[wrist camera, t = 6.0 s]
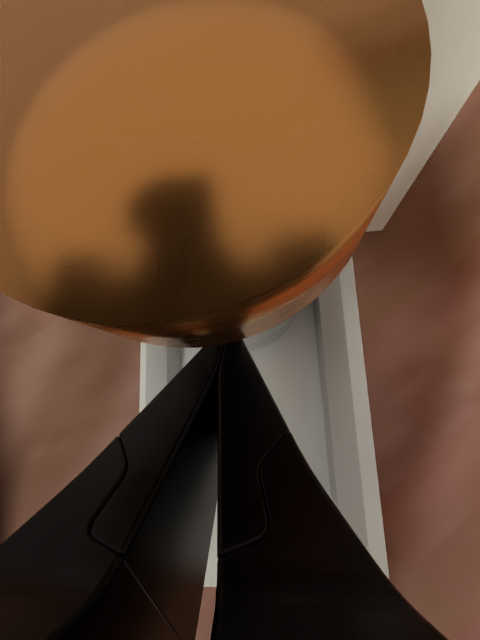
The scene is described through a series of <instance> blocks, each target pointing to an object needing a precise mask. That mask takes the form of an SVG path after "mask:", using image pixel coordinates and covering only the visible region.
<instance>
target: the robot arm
mask: <svg viewBox="0 0 480 640" xmlns="http://www.w3.org/2000/svg"><path fill="white" fill-rule="evenodd" d="M216 505H217V558H218V561H217V587H216V603H215V612H214V619H213V626H212V632H211V639H210V640H448V639H447V638H446V637H445V636H444V635H443V634H442V633H441V632H439V631H438V630H437V629H436V628H435V627H434V626H433V625H432V624H431V623H430V622H428V621H427V620H426V619H425V618H424V617H423V616H422V615H421V614H420V613H419V612H418V611H417V610H416V609H415V608H414V607H413V606H412V605H411V604H410V603H409V602H408V601H407V600H406V599H405V598H404V597H403V596H402V594H401V593H400V592H399V591H398V590H397V589H396V587H395V586H394V585H393V584H392V582H391V581H390V580H389V579H388V577H387V576H386V575H385V574H384V572H383V571H382V570H381V568H380V567H379V566H378V564H377V563H376V562H375V560H374V559H373V557H372V556H371V555H370V553H369V552H368V550H367V549H366V548H365V546H364V545H363V543H362V542H361V540H360V539H359V538H358V536H357V535H356V533H355V532H354V531H353V529H352V528H351V526H350V525H349V523H348V522H347V521H346V519H345V518H344V516H343V515H342V514H341V512H340V511H339V509H338V508H337V506H336V505H335V504H334V502H333V501H332V499H331V498H330V497H329V495H328V494H327V492H326V491H325V489H324V488H323V486H322V485H321V483H320V482H319V480H318V479H317V477H316V476H315V474H314V473H313V471H312V469H311V468H310V466H309V464H308V463H307V461H306V459H305V457H304V456H303V454H302V452H301V450H300V449H299V447H298V445H297V443H296V441H295V439H294V437H293V435H292V433H291V432H290V430H289V428H288V426H287V424H286V422H285V420H284V418H283V416H282V414H281V412H280V411H279V409H278V407H277V405H276V403H275V401H274V399H273V397H272V395H271V393H270V391H269V389H268V387H267V385H266V383H265V381H264V380H263V378H262V376H261V374H260V372H259V370H258V368H257V366H256V364H255V362H254V360H253V358H252V356H251V354H250V352H249V351H248V349H247V347H246V345H245V343H244V341H243V340H238V341H234V342H230V343H227V344H223V345H216V346H208V347H202V348H201V349H200V351H199V352H198V353H197V354H196V355H195V356H194V357H193V358H192V359H191V360H190V361H189V362H188V363H187V364H186V365H185V366H184V367H183V368H182V369H181V370H180V371H179V372H178V373H177V374H176V376H175V377H174V378H173V379H172V380H171V381H170V382H169V383H168V384H167V385H166V386H165V387H164V388H163V389H162V390H161V391H160V392H159V393H158V394H157V395H156V396H155V397H154V398H153V400H152V401H151V402H150V403H149V404H148V405H147V406H146V407H145V408H144V409H143V410H142V411H141V412H140V413H139V414H138V415H137V416H136V417H135V418H134V419H133V420H132V421H131V422H130V424H129V425H128V426H127V427H126V428H125V429H124V430H123V431H122V432H121V433H120V437H116V438H115V439H114V440H113V441H112V442H111V443H110V444H109V445H108V446H107V447H106V448H105V449H104V450H103V451H102V452H101V453H100V454H99V455H98V456H97V457H96V458H95V459H94V460H93V461H92V462H91V463H90V464H89V465H88V466H87V467H86V468H85V469H84V470H83V471H82V472H81V473H80V474H79V475H78V476H77V477H76V478H75V479H74V480H72V481H71V482H70V483H69V484H68V485H67V486H66V487H65V488H64V489H63V490H62V491H61V492H59V493H58V494H57V495H56V496H55V497H54V498H53V499H52V500H51V501H49V502H48V503H47V504H46V505H45V506H44V507H43V508H41V509H40V510H39V511H38V512H37V513H36V514H35V515H34V516H32V517H31V518H30V519H29V520H28V521H27V522H26V523H25V524H23V525H22V526H21V527H20V528H19V529H18V530H17V531H16V532H14V533H13V534H12V535H11V536H10V537H9V538H8V539H7V540H5V541H4V542H3V543H2V544H1V545H0V640H195V636H196V630H197V624H198V618H199V611H200V605H201V599H202V593H203V586H204V580H205V574H206V568H207V561H208V555H209V549H210V543H211V537H212V530H213V524H214V518H215V512H216Z"/></svg>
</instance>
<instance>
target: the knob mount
mask: <svg viewBox="0 0 480 640" xmlns="http://www.w3.org/2000/svg"><path fill="white" fill-rule="evenodd" d="M422 2H423V6H424V9H425V13H426V16H427V20H428V26H429V35H430V45H431V67H430V83H429V90H428V94H427V98H426V103H425V107H424V111H423V116H422V120H421V122H420V125H419V127H418V130H417V132H416V135H415V137H414V140H413V142H412V145H411V147H410V150H409V152H408V155H407V156H406V158H405V160H404V162H403V164H402V166H401V167H400V169H399V171H398V173H397V175H396V177H395V178H394V180H393V182H392V184H391V186H390V188H389V189H388V191H387V193H386V195H385V197H384V199H383V200H382V202H381V204H380V206H379V208H378V210H377V211H376V213H375V215H374V217H373V219H372V221H371V222H370V224H369V226H368V228H367V230H366V232H370V231H381V230H383V228H384V227H385V225H386V224H387V222H388V221H389V219H390V218H391V216H392V215H393V213H394V211H395V210H396V208H397V207H398V205H399V204H400V202H401V201H402V199H403V198H404V196H405V194H406V193H407V191H408V190H409V188H410V187H411V185H412V184H413V182H414V181H415V179H416V177H417V176H418V174H419V173H420V171H421V170H422V168H423V167H424V165H425V164H426V162H427V160H428V159H429V157H430V156H431V154H432V153H433V151H434V150H435V148H436V147H437V145H438V144H439V142H440V140H441V139H442V137H443V136H444V134H445V133H446V131H447V130H448V128H449V127H450V125H451V123H452V122H453V120H454V119H455V117H456V116H457V114H458V113H459V111H460V110H461V108H462V106H463V105H464V103H465V102H466V100H467V99H468V97H469V96H470V94H471V93H472V91H473V89H474V88H475V86H476V85H477V83H478V82H479V80H480V0H422ZM201 348H202V347H199V348H171V347H165V346H158V345H151V344H146V343H143V342H141V355H140V406H139V413H140V412H141V411H142V410H143V409H144V408H145V407H146V406H147V405H148V404H149V403H150V402H151V401H152V400H153V398H154V397H155V396H156V395H157V394H158V393H159V392H160V391H161V390H162V389H163V388H164V387H165V386H166V385H167V384H168V383H169V382H170V381H171V380H172V379H173V378H174V377H175V376H176V374H177V373H178V372H179V371H180V370H181V369H182V368H183V367H184V366H185V365H186V364H187V363H188V362H189V361H190V360H191V359H192V358H193V357H194V356H195V355H196V354H197V353H198V352H199V351H200V349H201ZM249 352H250V354H251V356H252V358H253V360H254V362H255V364H256V366H257V368H258V370H259V372H260V374H261V376H262V378H263V380H264V381H265V383H266V385H267V387H268V389H269V391H270V393H271V395H272V397H273V399H274V401H275V403H276V405H277V407H278V409H279V411H280V412H281V414H282V416H283V418H284V420H285V422H286V424H287V426H288V428H289V430H290V432H291V433H292V435H293V437H294V439H295V441H296V443H297V445H298V447H299V449H300V450H301V452H302V454H303V456H304V457H305V459H306V461H307V463H308V464H309V466H310V468H311V469H312V471H313V473H314V474H315V476H316V477H317V479H318V480H319V482H320V483H321V485H322V486H323V488H324V489H325V491H326V492H327V494H328V495H329V497H330V498H331V499H332V501H333V502H334V504H335V505H336V506H337V508H338V509H339V511H340V512H341V514H342V515H343V516H344V518H345V519H346V521H347V522H348V523H349V525H350V526H351V528H352V529H353V531H354V532H355V533H356V535H357V536H358V538H359V539H360V540H361V542H362V543H363V545H364V546H365V548H366V549H367V550H368V552H369V553H370V555H371V556H372V557H373V559H374V560H375V562H376V563H377V564H378V566H379V567H380V568H381V570H382V571H383V572H384V574H385V575H386V576H387V577H388V579H389V571H388V563H387V554H386V545H385V537H384V528H383V519H382V511H381V502H380V493H379V485H378V476H377V467H376V459H375V450H374V441H373V433H372V424H371V415H370V407H369V398H368V389H367V381H366V372H365V363H364V355H363V346H362V337H361V329H360V320H359V311H358V303H357V294H356V285H355V277H354V268H353V259H352V256H351V258H350V260H349V262H348V263H347V264H346V266H345V267H344V268H343V270H342V271H341V272H340V273H339V275H338V276H337V277H336V279H335V280H334V281H333V282H332V283H331V284H330V285H329V286H328V287H327V288H326V289H325V290H324V291H323V292H322V293H321V294H320V295H319V296H318V297H317V298H316V299H315V300H314V301H313V302H311V303H310V304H309V305H307V306H306V307H305V308H303V309H302V310H301V311H299V312H298V313H297V314H296V315H295V318H294V320H293V322H292V324H291V325H290V327H289V328H288V329H287V331H286V332H285V333H284V334H283V335H282V336H281V337H280V338H279V339H277V340H276V341H275V342H273V343H271V344H269V345H268V346H265V347H263V348H260V349H256V350H250V351H249ZM217 561H218V558H217V505H216V512H215V518H214V524H213V530H212V537H211V543H210V549H209V555H208V561H207V568H206V574H205V580H204V586H203V587H217Z"/></svg>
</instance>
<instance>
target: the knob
mask: <svg viewBox="0 0 480 640" xmlns="http://www.w3.org/2000/svg"><path fill="white" fill-rule="evenodd" d="M430 67H431V45H430V35H429V26H428V20H427V16H426V13H425V9H424V6H423V2H422V0H0V291H1V292H2V293H4V294H5V295H7V296H9V297H12V298H14V299H16V300H18V301H20V302H22V303H25V304H27V305H29V306H31V307H33V308H35V309H38V310H41V311H44V312H48V313H51V314H54V315H57V316H60V317H63V318H66V319H70V320H73V321H76V322H79V323H82V324H85V325H88V326H91V327H95V328H98V329H101V330H104V331H107V332H110V333H113V334H116V335H120V336H123V337H126V338H129V339H133V340H136V341H139V342H143V343H146V344H151V345H158V346H165V347H171V348H199V347H208V346H216V345H223V344H227V343H230V342H234V341H238V340H243V341H244V343H245V345H246V347H247V349H248V351H250V350H256V349H260V348H263V347H265V346H268V345H269V344H271V343H273V342H275V341H276V340H277V339H279V338H280V337H281V336H282V335H283V334H284V333H285V332H286V331H287V329H288V328H289V327H290V325H291V324H292V322H293V320H294V318H295V315H296V314H297V313H298V312H299V311H301V310H302V309H303V308H305V307H306V306H307V305H309V304H310V303H311V302H313V301H314V300H315V299H316V298H317V297H318V296H319V295H320V294H321V293H322V292H323V291H324V290H325V289H326V288H327V287H328V286H329V285H330V284H331V283H332V282H333V281H334V280H335V279H336V277H337V276H338V275H339V273H340V272H341V271H342V270H343V268H344V267H345V266H346V264H347V263H348V262H349V260H350V258H351V256H352V255H353V253H354V251H355V249H356V248H357V246H358V244H359V243H360V241H361V239H362V237H363V235H364V233H365V232H366V230H367V228H368V226H369V224H370V222H371V221H372V219H373V217H374V215H375V213H376V211H377V210H378V208H379V206H380V204H381V202H382V200H383V199H384V197H385V195H386V193H387V191H388V189H389V188H390V186H391V184H392V182H393V180H394V178H395V177H396V175H397V173H398V171H399V169H400V167H401V166H402V164H403V162H404V160H405V158H406V156H407V155H408V152H409V150H410V147H411V145H412V142H413V140H414V137H415V135H416V132H417V130H418V127H419V125H420V122H421V120H422V116H423V111H424V107H425V103H426V98H427V94H428V90H429V83H430Z"/></svg>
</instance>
